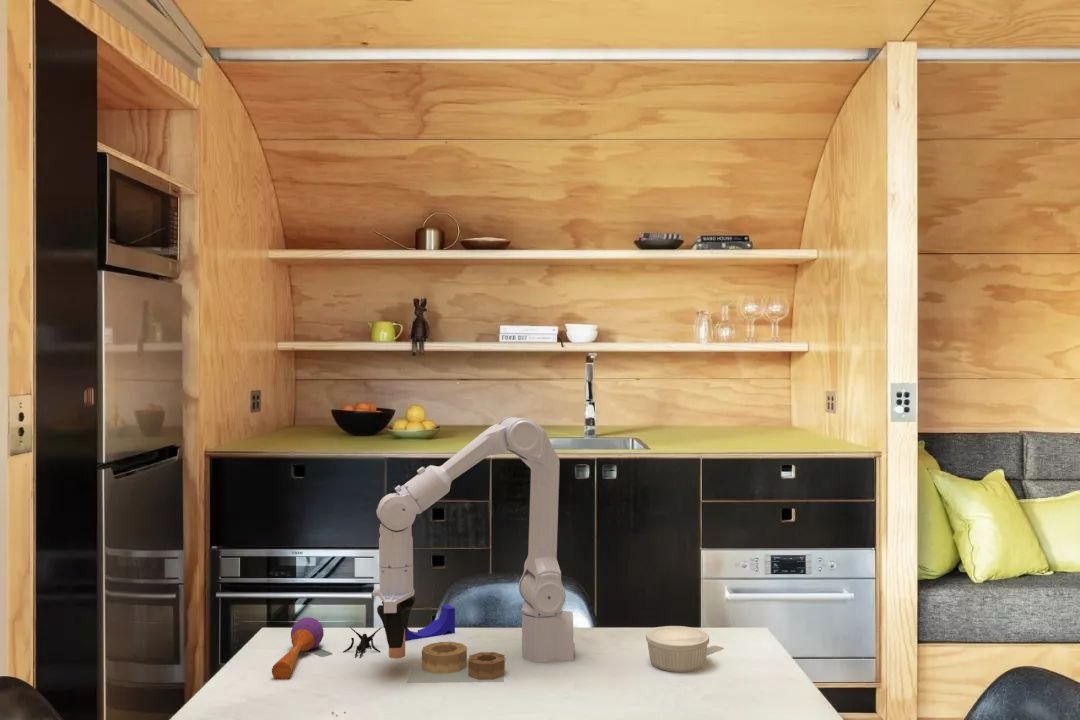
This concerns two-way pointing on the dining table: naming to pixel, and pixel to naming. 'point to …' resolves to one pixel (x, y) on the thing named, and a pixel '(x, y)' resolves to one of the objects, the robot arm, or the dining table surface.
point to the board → (442, 675)
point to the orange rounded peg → (398, 651)
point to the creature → (363, 643)
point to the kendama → (299, 645)
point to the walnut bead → (486, 665)
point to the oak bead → (444, 657)
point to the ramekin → (677, 648)
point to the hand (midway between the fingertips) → (397, 644)
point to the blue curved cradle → (436, 625)
